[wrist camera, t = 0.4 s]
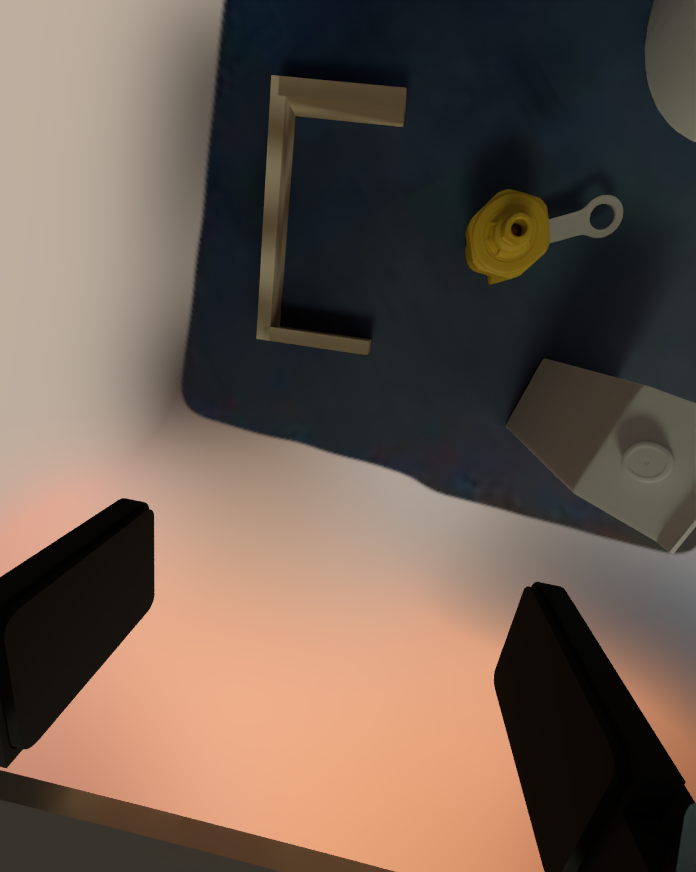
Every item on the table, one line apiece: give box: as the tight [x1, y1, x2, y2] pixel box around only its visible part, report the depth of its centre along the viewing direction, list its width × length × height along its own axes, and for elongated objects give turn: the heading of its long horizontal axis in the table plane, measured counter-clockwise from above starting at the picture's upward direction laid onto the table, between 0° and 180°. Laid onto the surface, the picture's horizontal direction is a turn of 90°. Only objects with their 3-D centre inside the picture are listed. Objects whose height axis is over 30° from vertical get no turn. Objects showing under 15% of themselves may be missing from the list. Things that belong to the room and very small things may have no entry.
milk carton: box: [506, 359, 696, 553], centre depth 27 cm, size 7×7×19 cm
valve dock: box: [257, 75, 407, 355], centre depth 33 cm, size 19×10×3 cm, turn 172°
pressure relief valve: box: [465, 189, 623, 284], centre depth 28 cm, size 6×12×10 cm, turn 104°
